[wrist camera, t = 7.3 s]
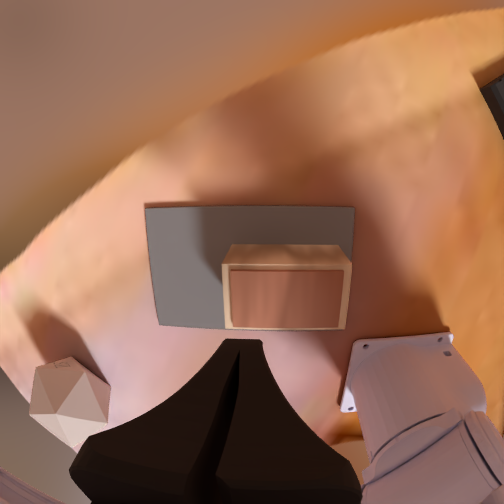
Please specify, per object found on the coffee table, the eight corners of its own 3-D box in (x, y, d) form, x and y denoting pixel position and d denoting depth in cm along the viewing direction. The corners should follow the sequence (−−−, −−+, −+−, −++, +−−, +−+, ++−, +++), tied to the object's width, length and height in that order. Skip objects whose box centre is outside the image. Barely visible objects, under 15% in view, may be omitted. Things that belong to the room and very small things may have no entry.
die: (97, 334, 24) (6, 360, 17) (139, 418, 22) (45, 455, 15) (90, 361, 29) (19, 383, 22) (124, 428, 27) (51, 456, 20)
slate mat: (353, 207, 19) (354, 207, 19) (342, 327, 22) (343, 330, 21) (147, 207, 20) (145, 208, 20) (160, 322, 23) (159, 325, 22)
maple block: (231, 244, 20) (338, 244, 19) (233, 299, 21) (333, 299, 21) (220, 265, 16) (353, 266, 15) (224, 331, 17) (345, 331, 16)
